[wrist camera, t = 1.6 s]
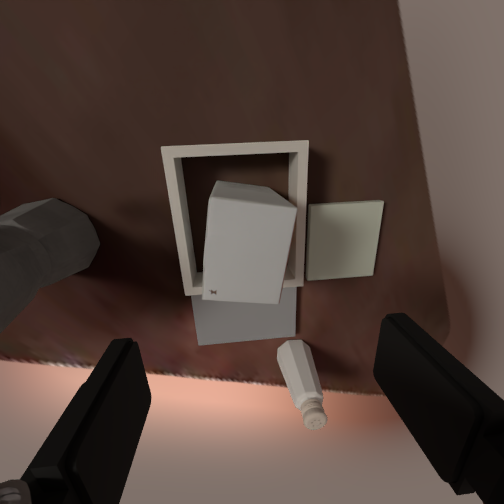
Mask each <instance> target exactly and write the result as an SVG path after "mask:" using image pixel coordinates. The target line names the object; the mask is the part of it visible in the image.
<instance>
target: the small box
mask: <svg viewBox="0 0 504 504" xmlns="http://www.w3.org/2000/svg"><path fill="white" fill-rule="evenodd" d="M297 211H298V208H297V207H295V206H294V205H293V204H291V203H290V202H288V201H287V200H286V199H284V198H283V197H281V196H280V195H279V194H277V193H276V192H275V191H273V190H272V189H270V188H269V187H264V186H256V185H248V184H241V183H233V182H225V181H216V183H215V186H214V188H213V190H212V193H211V195H210V198H209V202H208V213H207V225H206V236H205V247H204V260H203V285H202V300H215V301H229V302H246V303H263V304H279V303H280V298H281V293H282V288H283V283H284V277H285V273H286V267H287V262H288V257H289V252H290V247H291V242H292V237H293V232H294V226H295V221H296V216H297Z"/></svg>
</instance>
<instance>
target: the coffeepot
mask: <svg viewBox="0 0 504 504" xmlns="http://www.w3.org/2000/svg"><path fill="white" fill-rule="evenodd" d="M99 246H100V241H99V239H98V236H97V233H96V230H95V228H94V226H93V224H92V223H91V221H90V220H89V218H88V216H87V215H86V214H85V213H83V212H81V211H80V210H78V209H77V208H75V207H73V206H71V205H69V204H67V203H64V202H62V201H60V200H58V199H56V198H52V199H47V200H42V201H37V202H32V203H28V204H23V205H21V206H19V207H17V208H15V209H13V210H11V211H9V212H7V213H5V214H3V215H1V216H0V333H1V332H2V331H3V330H4V329H5V328H6V327H7V326H8V325H9V324H10V323H11V322H12V321H13V319H14V318H15V317H16V316H17V315H18V314H19V313H20V312H21V311H22V310H23V309H24V308H25V307H26V306H27V305H28V304H29V303H30V302H31V301H32V300H33V298H34V297H35V295H36V293H37V291H38V289H39V288H41V287H44V286H47V285H50V284H53V283H55V282H57V281H59V280H61V279H64V278H66V277H68V276H70V275H73V274H75V273H77V272H79V271H81V270H84V269H86V268H88V267H89V266H90V264H91V262H92V260H93V258H94V257H95V255H96V253H97V250H98V248H99Z"/></svg>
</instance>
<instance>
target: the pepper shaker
mask: <svg viewBox="0 0 504 504" xmlns="http://www.w3.org/2000/svg"><path fill="white" fill-rule="evenodd" d="M277 360H278V363H279V366H280V368H281V371H282V373H283V376H284V379H285V381H286V384H287V387H288V389H289V392H290V394H291V397H292V400H293V402H294V404H295V407H296V408H298V409H299V410H301V413H302V417H303V422H304V425H305V427H307V428H308V429H311V430H316V429H320V428H322V427H323V426H324V425H325V424H326V423H327V416H326V414H325V413H324V409H323V407H322V402H323V393H322V389H321V386H320V382H319V379H318V375H317V371H316V368H315V364H314V361H313V357H312V353H311V350H310V347H309V346H308V345H307V344H306V343H304V342H303V341H302V340H288V341H286V342H285V343H284V344H283V345H281V346H280V347H279V348H278V353H277Z"/></svg>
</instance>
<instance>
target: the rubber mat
mask: <svg viewBox="0 0 504 504" xmlns="http://www.w3.org/2000/svg"><path fill="white" fill-rule="evenodd" d="M383 205H384V201H381V200H371V201H355V202H338V203H322V204H309V206H308V230H307V255H306V279H307V280H308V281H310V280H323V279H335V278H347V277H359V276H372V275H373V271H374V264H375V257H376V251H377V244H378V238H379V231H380V225H381V218H382V211H383Z"/></svg>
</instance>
